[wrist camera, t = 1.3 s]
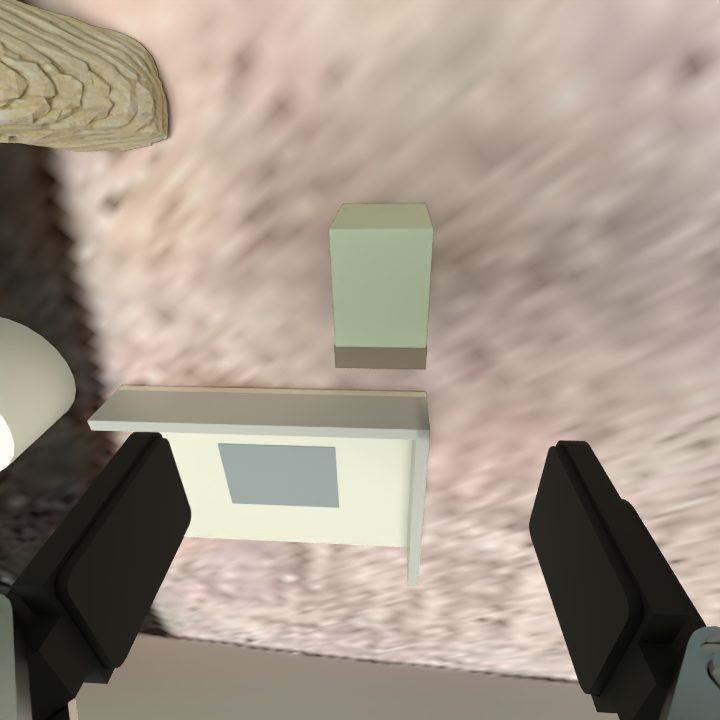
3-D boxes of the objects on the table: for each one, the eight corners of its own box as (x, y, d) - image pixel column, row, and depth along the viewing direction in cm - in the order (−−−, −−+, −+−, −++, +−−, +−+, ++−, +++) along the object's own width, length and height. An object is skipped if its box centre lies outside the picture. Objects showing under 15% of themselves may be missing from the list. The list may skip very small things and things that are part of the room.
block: (425, 202, 24) (434, 229, 18) (419, 319, 27) (425, 369, 22) (342, 203, 24) (327, 229, 19) (346, 318, 27) (335, 367, 22)
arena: (425, 392, 30) (430, 430, 26) (415, 541, 38) (417, 586, 34) (121, 385, 31) (87, 420, 28) (174, 530, 39) (153, 571, 36)
